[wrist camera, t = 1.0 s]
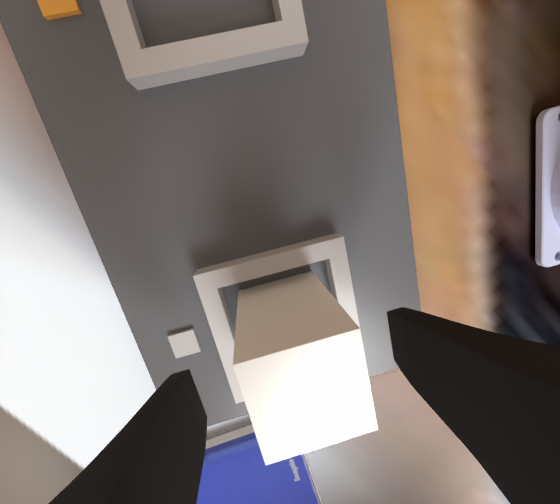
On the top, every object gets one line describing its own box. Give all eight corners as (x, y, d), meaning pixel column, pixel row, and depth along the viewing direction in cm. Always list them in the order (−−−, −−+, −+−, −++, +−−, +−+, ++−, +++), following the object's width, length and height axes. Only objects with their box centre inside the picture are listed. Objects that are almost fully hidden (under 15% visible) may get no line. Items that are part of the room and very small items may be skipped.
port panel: (351, -225, 9) (370, -302, 8) (420, 354, 15) (439, 371, 14) (-69, -167, 8) (-136, -243, 7) (178, 427, 14) (170, 454, 13)
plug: (311, 270, 13) (359, 327, 7) (327, 342, 14) (380, 439, 8) (238, 290, 12) (232, 365, 7) (259, 362, 13) (268, 475, 8)
